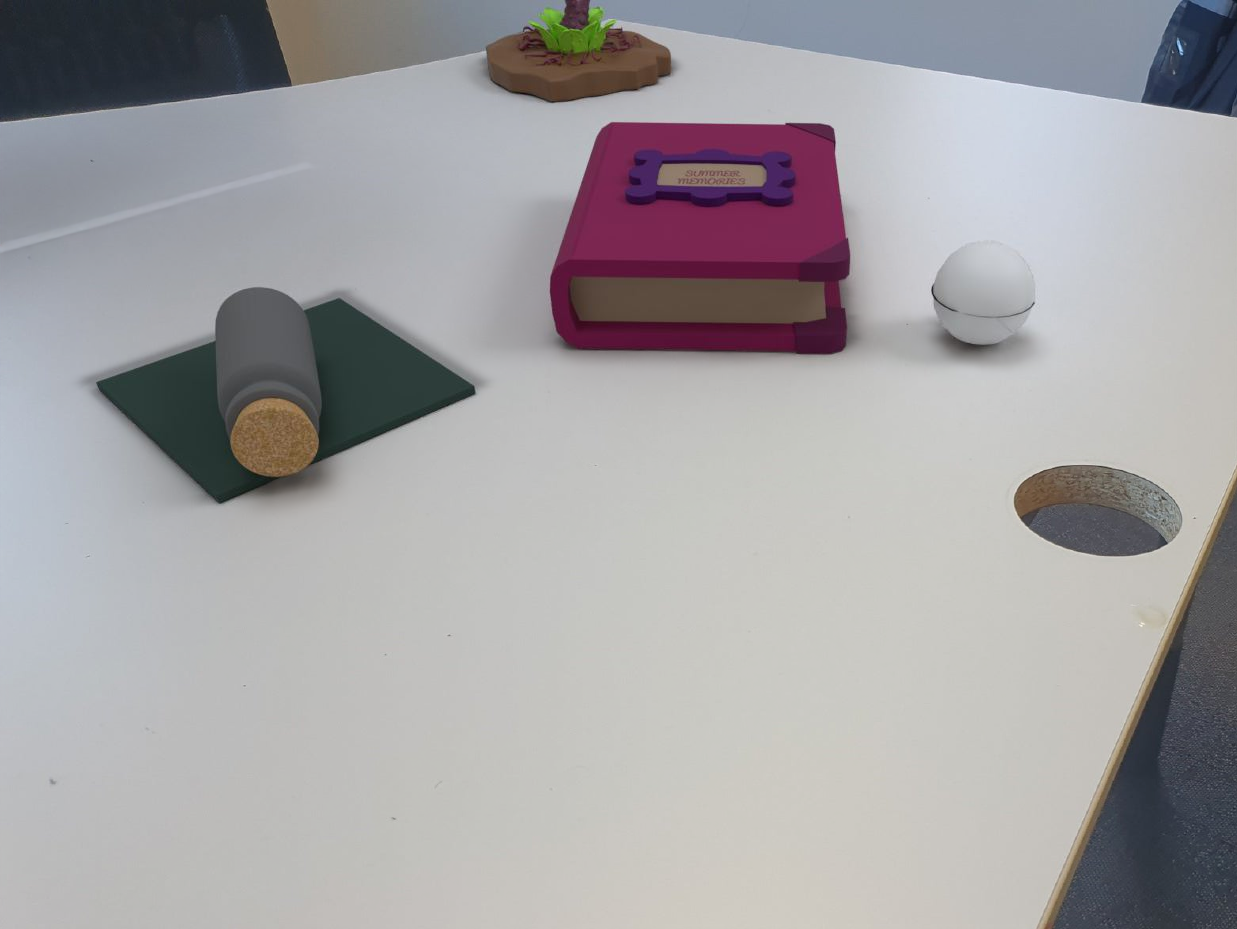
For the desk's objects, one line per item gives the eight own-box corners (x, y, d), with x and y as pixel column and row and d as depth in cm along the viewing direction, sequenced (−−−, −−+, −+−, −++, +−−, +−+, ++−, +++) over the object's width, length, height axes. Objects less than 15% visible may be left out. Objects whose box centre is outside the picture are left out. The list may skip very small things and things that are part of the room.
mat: (219, 503, 66) (216, 495, 66) (98, 389, 76) (95, 381, 75) (476, 393, 76) (474, 385, 76) (341, 304, 86) (339, 297, 85)
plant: (456, 67, 131) (440, -40, 124) (593, 38, 141) (586, -63, 134) (553, 111, 120) (541, -3, 113) (694, 76, 130) (692, -31, 123)
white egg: (922, 314, 86) (932, 222, 81) (1018, 317, 86) (1035, 224, 81) (933, 381, 78) (945, 283, 74) (1039, 384, 78) (1058, 286, 74)
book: (556, 350, 81) (544, 250, 76) (600, 198, 102) (592, 113, 97) (846, 354, 81) (853, 254, 76) (830, 202, 102) (834, 116, 97)
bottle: (313, 292, 75) (334, 405, 65) (305, 370, 78) (323, 489, 68) (217, 279, 73) (222, 394, 62) (212, 359, 76) (216, 482, 65)
